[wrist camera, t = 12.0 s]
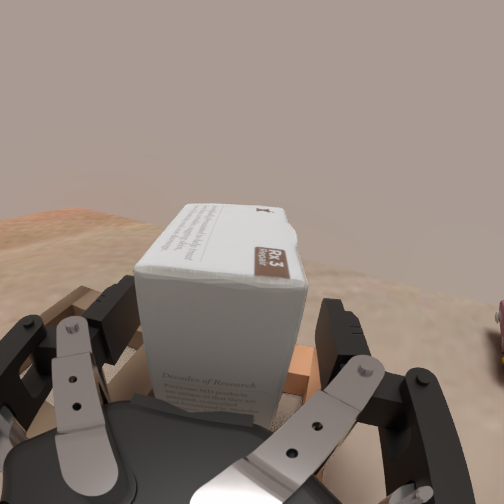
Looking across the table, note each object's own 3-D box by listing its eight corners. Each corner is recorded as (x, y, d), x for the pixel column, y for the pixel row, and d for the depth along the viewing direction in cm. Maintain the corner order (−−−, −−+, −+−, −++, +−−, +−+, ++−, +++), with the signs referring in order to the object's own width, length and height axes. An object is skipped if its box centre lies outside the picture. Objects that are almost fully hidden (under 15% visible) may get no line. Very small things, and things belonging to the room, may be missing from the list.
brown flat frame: (-18, 391, 11) (-30, 372, 10) (85, 303, 23) (81, 285, 23) (294, 561, 6) (303, 560, 5) (328, 370, 19) (335, 351, 18)
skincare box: (190, 391, 16) (178, 198, 12) (260, 396, 16) (286, 204, 12) (173, 474, 11) (114, 260, 6) (262, 481, 11) (316, 274, 6)
